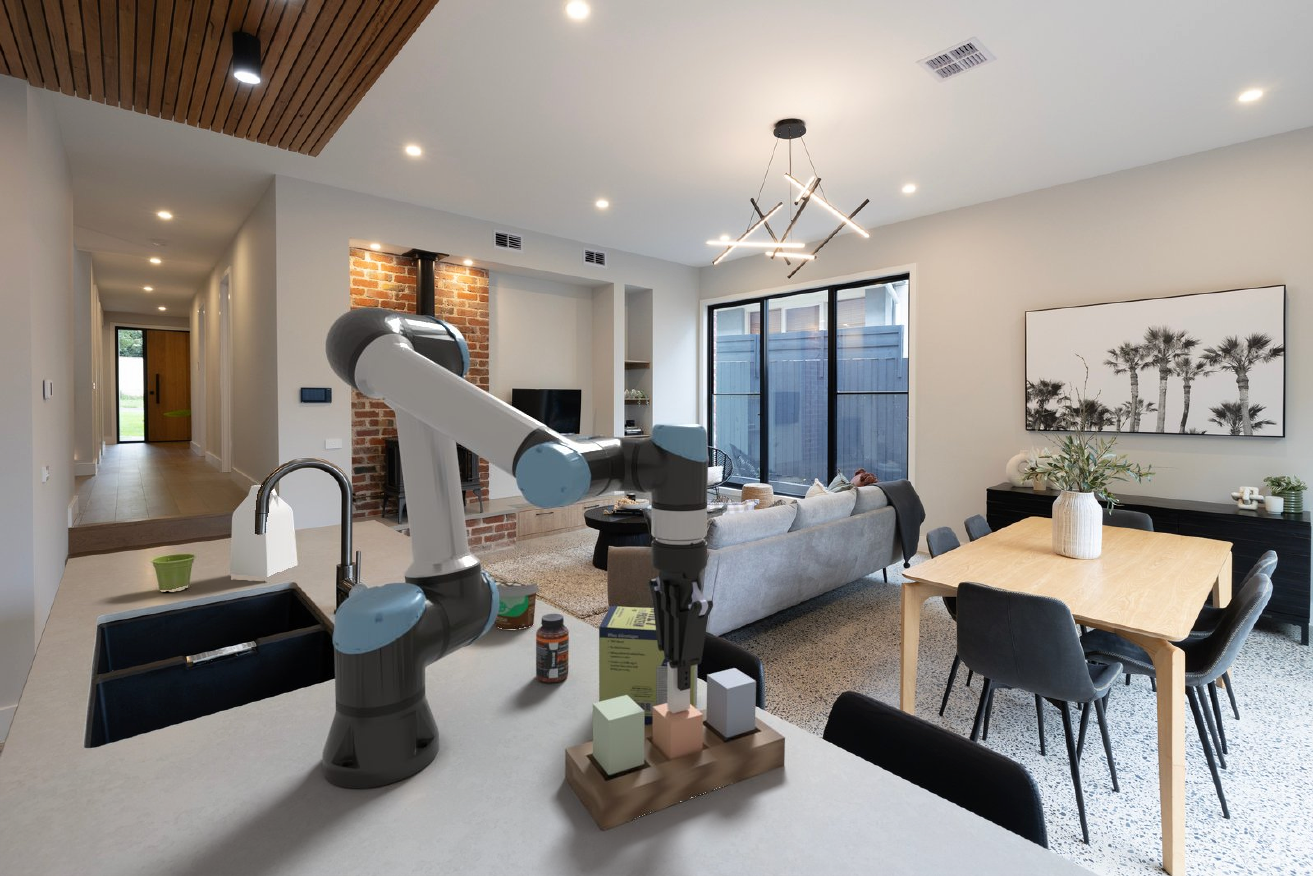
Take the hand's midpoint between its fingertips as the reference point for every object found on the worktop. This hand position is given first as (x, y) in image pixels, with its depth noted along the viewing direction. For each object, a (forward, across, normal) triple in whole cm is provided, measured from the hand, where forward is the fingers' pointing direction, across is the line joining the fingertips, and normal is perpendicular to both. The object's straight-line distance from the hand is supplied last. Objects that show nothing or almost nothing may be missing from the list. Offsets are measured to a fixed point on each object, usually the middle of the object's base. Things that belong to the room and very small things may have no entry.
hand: (678, 708), depth 85 cm
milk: (+8, +138, +55) cm, 149 cm away
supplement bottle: (+9, +36, +5) cm, 38 cm away
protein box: (+9, +17, -5) cm, 20 cm away
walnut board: (+9, 0, 0) cm, 9 cm away
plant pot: (+8, +133, +75) cm, 153 cm away
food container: (+9, +65, +5) cm, 66 cm away
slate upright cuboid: (+5, 0, -9) cm, 10 cm away
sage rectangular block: (+5, 0, +9) cm, 10 cm away
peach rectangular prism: (+7, 0, 0) cm, 7 cm away
